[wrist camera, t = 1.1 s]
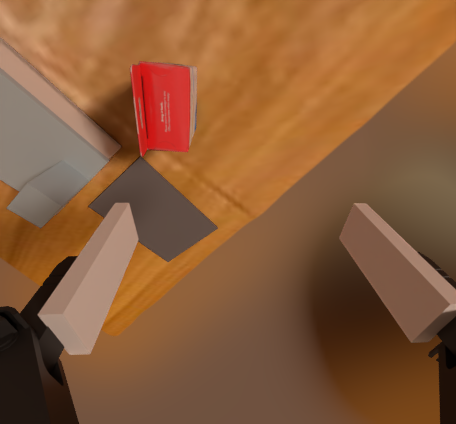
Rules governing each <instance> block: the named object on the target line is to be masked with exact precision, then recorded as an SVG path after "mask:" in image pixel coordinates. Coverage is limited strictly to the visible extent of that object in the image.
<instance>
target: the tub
mask: <svg viewBox="0 0 456 424" xmlns="http://www.w3.org/2000/svg"><path fill="white" fill-rule="evenodd" d="M0 68H1V69H3V70H4V71H5V72H6V73H7V74H9V75H10V76H11V77H12V78H13V79H14V80H16V81H17V82H18V83H19V84H20V85H22V86H23V87H24V88H25V89H26V90H27V91H29V92H30V93H31V94H32V95H33V96H35V97H36V98H37V99H38V100H39V101H41V102H42V103H43V104H44V105H45V106H46V107H48V108H49V109H50V110H51V111H52V112H54V113H55V114H56V115H57V116H58V117H59V118H61V119H62V120H63V121H64V122H65V123H67V124H68V125H69V126H70V127H71V128H73V129H74V130H75V131H76V132H77V133H78V134H80V135H81V136H82V137H83V138H84V139H86V140H87V141H88V142H89V143H90V144H91V145H93V146H94V147H95V148H96V149H97V150H99V151H100V152H101V153H102V154H103V155H104V156H106V157H107V158H108V159H110V158H111V157H112V156H113V155H114V154H115V153H116V152H117V151H118V150H119V149H120V148H121V147H122V146H121V145H120V144H118V143H117V142H116V141H115V140H114V139H113V138H112V137H111V136H110V135H108V134H107V133H106V132H105V131H104V130H103V129H102V128H101V127H100V126H98V125H97V124H96V123H95V122H94V121H93V120H92V119H91V118H90V117H89V116H87V115H86V114H85V113H84V112H83V111H82V110H81V109H80V108H79V107H77V106H76V105H75V104H74V103H73V102H72V101H71V100H70V99H69V98H67V97H66V96H65V95H64V94H63V93H62V92H61V91H60V90H59V89H57V88H56V87H55V86H54V85H53V84H52V83H51V82H50V81H49V80H48V79H46V78H45V77H44V76H43V75H42V74H41V73H40V72H39V71H38V70H36V69H35V68H34V67H33V66H32V65H31V64H30V63H29V62H28V61H26V60H25V59H24V58H23V57H22V56H21V55H20V54H19V53H18V52H16V51H15V50H14V49H13V48H12V47H11V46H10V45H9V44H8V43H6V42H5V41H4V40H3V39H2V38H0Z"/></svg>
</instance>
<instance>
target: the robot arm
mask: <svg viewBox="0 0 456 424" xmlns="http://www.w3.org/2000/svg"><path fill="white" fill-rule="evenodd" d="M339 238H340V240H341V241H342V243H343V245H344V246H345V247H346V249H347V250H348V252H349V253H350V255H351V256H352V258H353V259H354V261H355V262H356V263H357V265H358V266H359V268H360V269H361V271H362V272H363V274H364V275H365V276H366V278H367V279H368V281H369V282H370V284H371V285H372V286H373V288H374V289H375V291H376V292H377V294H378V295H379V297H380V298H381V300H382V301H383V302H384V304H385V305H386V307H387V308H388V310H389V311H390V313H391V314H392V316H393V317H394V318H395V320H396V321H397V323H398V324H399V326H400V327H401V329H402V330H403V332H404V333H405V334H406V336H407V337H408V339H409V340H410V342H411V343H413V342H429V341H430V340H431V339H432V338H433V337H434V336H435V335H438V336H439V338H440V339H441V340H442V342H441V343H440V344H438V345H437V346H436V347H435V348H434V349H433V350H431V351H430V352H429V355H428V356H429V357H431V358H432V357H433V356H434V355H435V354H437V353H438V355H439V358H438V359H436V361H438V362H439V392H440V393H439V394H440V424H456V282H455V281H454V280H453V279H452V278H449V276H448V275H447V274H446V273H445V272H444V271H442V270H441V268H440V267H439V266H437V265H436V264H435V263H434V262H433V261H432V260H431V259H429V258H428V257H426V256H424V255H423V254H421V253H420V252H416V251H415V250H414V249H413V248H412V247H411V246H410V245H409V244H408V243H407V242H406V241H405V240H403V238H401V237H400V236H399V235H398V234H397V233H396V232H395V231H394V230H393V229H392V228H391V227H390V226H389V225H388V224H387V223H386V222H385V221H384V220H383V219H382V218H381V217H380V216H379V215H378V214H377V213H375V212H374V211H373V210H372V209H371V208H370V207H369V206H368V205H367V204H364V203H362V204H360V203H359V204H357V203H354V204H353V206H352V209H351V211H350V214H349V216H348V218H347V221H346V223H345V226H344V228H343V230H342V233H341V235H340V237H339ZM138 240H139V239H138V235H137V231H136V227H135V224H134V220H133V216H132V212H131V208H130V204H129V203H115V204H114V205H113V207H112V208H111V209H110V211H109V212H108V214H107V215H106V217H105V218H104V220H103V221H102V222H101V224H100V225H99V227H98V228H97V230H96V231H95V233H94V234H93V235H92V237H91V238H90V240H89V241H88V243H87V244H86V245H85V247H84V248H83V250H82V251H81V253H80V254H79V256H68V257H67V258H66V259H64V260H63V261H62V262H60V263H59V264H58V265H57V266H56V267H55V268H54V270H53V271H52V272H51V274H50V275H49V277H47V279H46V280H45V281H44V283H43V286H41V287H40V288H39V289H38V291H37V292H36V293H35V294H34V296H33V297H32V298H31V300H30V301H29V302H28V304H27V305H26V306H25V308H24V309H23V310H22V311H21V313H20V314H19V313H18V311H17V310H16V309H15V308H12V307H9V306H6V307H0V424H79V422H78V418H77V415H76V411H75V408H74V404H73V401H72V397H71V394H70V390H69V387H68V383H67V380H66V376H65V373H64V370H63V366H62V363H61V361H60V359H59V356H60V355H61V353H62V351H63V349H64V348H65V349H66V351H67V352H68V353H69V354H70V355H74V354H90V353H91V351H92V348H93V346H94V344H95V342H96V339H97V337H98V334H99V332H100V330H101V327H102V325H103V323H104V320H105V318H106V316H107V313H108V311H109V309H110V306H111V304H112V301H113V299H114V297H115V294H116V292H117V290H118V287H119V285H120V282H121V280H122V278H123V275H124V273H125V271H126V268H127V266H128V264H129V261H130V259H131V256H132V254H133V252H134V249H135V247H136V245H137V242H138Z"/></svg>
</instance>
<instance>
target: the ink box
mask: <svg viewBox="0 0 456 424" xmlns="http://www.w3.org/2000/svg"><path fill="white" fill-rule="evenodd" d="M130 74H131V83H132V92H133V100H134V109H135V118H136V126H137V134H138V142H139V150H140V156H141V157H143V156H144V155H145V152H146V151H147V150H160V151H175V152H188V150H189V147H190V144H191V140H192V138H193V135H194V132H195V129H196V102H197V67H195V66H188V65H180V64H171V63H154V62H142V61H140V62H139V64H138V65H134V64H132V65H131V66H130ZM139 110H140V116H139Z"/></svg>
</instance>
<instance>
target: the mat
mask: <svg viewBox="0 0 456 424" xmlns="http://www.w3.org/2000/svg"><path fill="white" fill-rule="evenodd" d="M115 203H129V204H130V208H131V212H132V216H133V220H134V224H135V227H136V231H137V235H138V239H139V240H138V241H139V242H140V243H141V244H143V245H144V246H146V247H147V248H149V249H150V250H151V251H153V252H154V253H156V254H157V255H159V256H160V257H161V258H163V259H164V260H166V261H167V262H169V261H170V260H172V259H173V258H175V257H176V256H178V255H179V254H181V253H182V252H184V251H185V250H187V249H188V248H190V247H191V246H193V245H194V244H195V243H197V242H198V241H200V240H201V239H203V238H204V237H206V236H207V235H209V234H210V233H212V232H213V231H215V230H216V229H218V227H217V226H216V225H215V224H214V223H212V222H211V221H210V220H209V219H208V218H207V217H206V216H205V215H204V214H203V213H202V212H201V211H199V210H198V209H197V208H196V207H195V206H194V205H193V204H192V203H191V202H190V201H189V200H187V199H186V198H185V197H184V196H183V195H182V194H181V193H180V192H179V191H178V190H177V189H176V188H174V187H173V186H172V185H171V184H170V183H169V182H168V181H167V180H166V179H165V178H164V177H162V176H161V175H160V174H159V173H158V172H157V171H156V170H155V169H154V168H153V167H152V166H151V165H149V164H148V163H147V162H146V161H145V160H144V159H143V158H142V157H139V158H138V159H137V160H136V161H135V162H134V163H133V164H132V165H131V166H130V167H129V168H128V169H127V170H126V171H125V172H124V173H123V174H122V175H121V176H120V177H119V178H117V179H116V180H115V181H114V182H113V183H112V184H111V185H110V186H109V187H108V188H107V189H106V190H105V191H104V192H103V193H102V194H101V195H100V196H99V197H98V198H97V199H95V200H94V201H93V202H92V203H91V204H90V205H89V206H88V207H90V208H91V209H93V210H94V211H96V212H97V213H98V214H100V215H101V216H103V217H104V218H105V217H106V215H107V214H108V212H109V211H110V209H111V208H112V207H113V205H114V204H115Z"/></svg>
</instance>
